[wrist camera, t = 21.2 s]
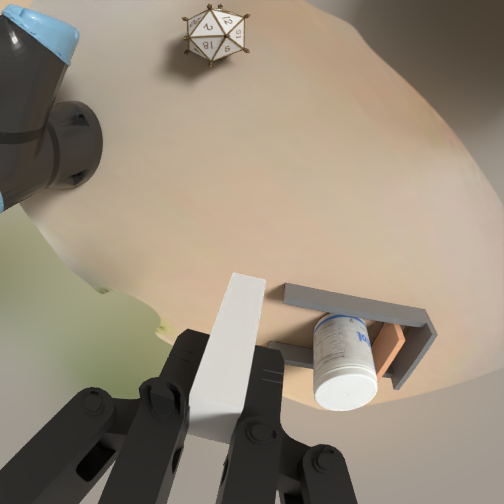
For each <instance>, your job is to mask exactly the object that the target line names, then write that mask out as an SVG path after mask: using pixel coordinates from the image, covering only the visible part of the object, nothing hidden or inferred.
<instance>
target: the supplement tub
mask: <svg viewBox="0 0 504 504" xmlns="http://www.w3.org/2000/svg"><path fill="white" fill-rule="evenodd" d="M313 340H314V341H313V342H314V344H313V345H314V371H313V391H314V398H315V401H316V402H317V403H318V404H319V405H320V406H321V407H323V408H326V409H328V410H333V411H346V410H352V409H356V408H358V407H361V406H363V405H365V404H366V403H368V402H369V401H370V400H372V398H373V397H374V396H375V394H376V392H377V376H376V370H375V365H374V360H373V355H372V351H371V346H370V341H369V337H368V333H367V328H366V325H365V322H364V321H363V319H362V318H357V317H351V316H345V315H340V314H334V313H330V314H328V315H326V316H324V317H323V318H322V319H320V320H319V322H318V323H317V324H316V326H315V328H314V337H313Z"/></svg>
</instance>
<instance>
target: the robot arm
mask: <svg viewBox="0 0 504 504" xmlns="http://www.w3.org/2000/svg"><path fill="white" fill-rule="evenodd" d="M1 14H2V15H0V213H1V212H3V211H5V210H6V209H8V208H10V207H12V206H13V205H15V204H17V203H19V202H21V201H23V200H24V199H26V198H28V197H30V196H32V195H34V194H36V193H38V192H40V191H42V190H44V189H46V188H50V189H68V188H73V187H76V186H78V185H80V184H82V183H84V182H86V181H87V180H88V179H89V178H90V177H91V176H92V175H93V174H94V172H95V171H96V169H97V167H98V165H99V162H100V159H101V154H102V146H103V140H102V131H101V127H100V124H99V121H98V119H97V117H96V115H95V114H94V112H93V111H92V110H91V109H90V108H89V107H88V106H87V105H85V104H84V103H81V102H78V101H68V102H61V103H58V104H56V105H54V106H53V103H54V101H55V98H56V95H57V93H58V90H59V87H60V85H61V82H62V80H63V78H64V75H65V73H66V70H67V68H68V66H70V64H71V62H70V60H71V58H72V55H73V53H74V51H75V48H76V46H77V44H78V41H79V32H78V30H77V28H76V27H74V26H72V25H70V24H68V23H65V22H63V21H61V20H58V19H56V18H53V17H50V16H48V15H45V14H42V13H39V12H36V11H33V10H29V9H26V8H22V7H19V6H16V5H12V4H10V5H7V6H6V8H5V9H4V10H3V11H2V12H1ZM265 286H266V280H264V279H260V278H256V277H252V276H247V275H243V274H239V273H235V272H233V274H232V277H231V279H230V282H229V285H228V288H227V290H226V293H225V296H224V299H223V302H222V304H221V307H220V310H219V313H218V315H217V318H216V321H215V324H214V327H213V329H212V332H211V335H209V334H205V333H201V332H198V331H194V330H191V329H186V330H185V331H184V332H183V333H181V334H180V335H179V336H178V337H177V339H176V341H175V343H174V345H173V349H172V350H171V352H170V354H169V357H168V358H167V361H166V363H165V365H164V367H163V369H162V371H161V374H160V376H159V377H155V378H150V379H148V380H146V381H145V382H143V383H142V385H141V386H140V387H139V393H140V398H139V399H130V400H129V399H117V398H112V397H111V396H110V395H109V394H108V393H107V392H106V391H105V390H102V389H100V388H94V387H90V388H86V389H83V390H82V391H80V392H78V393H77V394H76V395H75V396H74V397H73V398H72V399H71V400H70V401H69V402H68V403H67V404H66V405H65V406H64V407H63V408H62V409H61V410H60V411H59V412H58V413H57V414H56V415H55V416H54V417H53V418H52V419H51V420H50V421H49V422H48V423H47V424H46V425H45V426H44V427H43V428H42V429H41V430H40V431H39V432H38V433H37V434H36V435H35V436H34V437H33V438H32V439H31V440H30V441H29V442H28V443H27V444H26V445H25V446H24V447H23V448H22V449H21V450H20V451H19V452H18V453H17V454H16V455H15V456H14V457H13V458H12V459H11V460H10V461H9V462H8V463H7V464H6V465H5V466H4V467H3V468H2V469H1V470H0V504H79V503H80V502H81V500H82V499H83V498H84V497H85V496H86V495H87V493H88V492H89V491H90V490H91V489H92V488H93V486H94V485H95V484H96V483H97V481H98V480H99V479H100V478H101V477H102V476H103V474H104V473H105V472H106V471H107V469H108V468H109V467H110V466H111V465H112V463H113V462H114V461H115V460H116V461H115V464H114V466H113V468H112V471H111V473H110V475H109V478H108V480H107V483H106V485H105V487H104V490H103V492H102V495H101V497H100V500H99V502H98V504H166V503H167V500H168V497H169V494H170V490H171V487H172V484H173V480H174V477H175V474H176V471H177V468H178V465H179V461H180V458H181V455H182V452H183V448H184V440H185V437H186V434H187V433H188V434H191V435H194V436H198V437H202V438H205V439H209V440H214V441H218V442H222V443H226V444H230V446H229V450H228V454H227V457H226V459H225V462H224V464H223V465H224V469H223V473H222V478H221V482H220V486H219V491H218V495H217V500H216V504H275V498H276V490H278V491H279V497H280V503H281V504H357V500H356V497H355V493H354V490H353V486H352V482H351V479H350V476H349V472H348V469H347V465H346V462H345V459H344V457H343V455H342V453H341V452H340V451H339V450H337V449H336V448H335V447H332V446H330V445H325V444H319V445H316V446H313V447H310V446H307V445H305V444H303V443H300V442H298V441H296V440H294V439H292V438H290V437H289V436H288V435H287V434H286V433H285V431H284V430H283V428H282V426H281V423H280V412H281V401H282V389H283V376H284V375H283V374H284V363H285V361H284V359H283V356H282V354H281V352H280V350H276V349H271V348H267V347H262V346H258V345H255V343H256V337H257V332H258V326H259V320H260V315H261V309H262V303H263V297H264V291H265Z"/></svg>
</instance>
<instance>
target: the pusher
mask: <svg viewBox="0 0 504 504" xmlns="http://www.w3.org/2000/svg"><path fill="white" fill-rule="evenodd" d="M405 327H406V325H400V324H393V323H387V322H385V323H384V325H383V326H382V328H381V330H380V332H379V334H378V336H377V338H376V339H375V341H374V343H373V345H372V346H371V351H372V355H373V360H374V365H375V370H376V376H377V383H378V382H379V380H380V379H381V377H382V376H383V374H384V373H385V371H386V370H387V369H388V367H389V366H390V364H391V363H392V361H393V359H394V358H395V356H396V355H397V353H398V352H399V350H400V349H401V347H402V345H403V344H404V342H405V338H404V335H403V331H404V329H405Z"/></svg>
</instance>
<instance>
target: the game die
mask: <svg viewBox="0 0 504 504" xmlns="http://www.w3.org/2000/svg"><path fill="white" fill-rule="evenodd" d="M207 8H208V10H206V11H204V12H202V13H200V14H198V15H196V16H194V17H192V18H190V19H188V18H186V17H183V18H182V19H183V21H187V30H188V36H184V38H183V39H184V40H188V50H186V51H185V52H184V54H188V53H189V52H190V51H191V52H193V53H195V54H197V55H199V56H201V57H203V58H204V59H206V60H208V61H210V62H209V67H210V68H211V67H212V66H213V61H216V60H218V59H219V60H222V59H223V57H226V56H228V55H231V54H233V53H236V52H239V51H242V50H244V52H246V53H250V52H249V49H246V48H244V42H245V18H248V17H249V16H250V15H251V14H246V15H245V16H244V17H243V16H240V15H237V14H235V13H232V12H229V11H226V10H224V9H221V8H222V5H221V4H220V5H218V8H215V9H211V8H212V5H210V4H208V6H207Z"/></svg>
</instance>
